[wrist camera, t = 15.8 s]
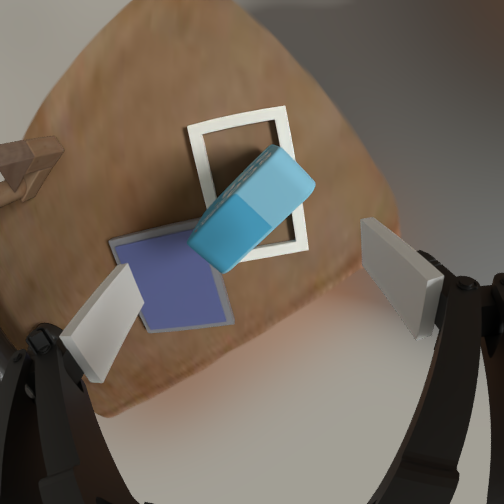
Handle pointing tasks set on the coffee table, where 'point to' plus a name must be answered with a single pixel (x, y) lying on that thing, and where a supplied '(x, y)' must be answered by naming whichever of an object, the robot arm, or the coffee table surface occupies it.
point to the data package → (250, 208)
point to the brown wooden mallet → (26, 167)
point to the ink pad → (173, 279)
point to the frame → (207, 180)
